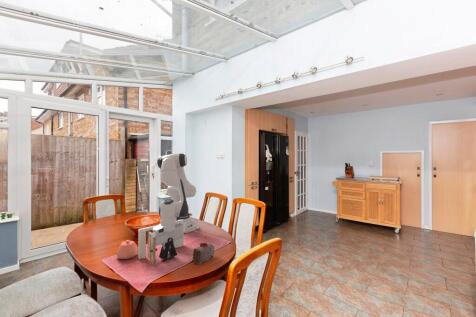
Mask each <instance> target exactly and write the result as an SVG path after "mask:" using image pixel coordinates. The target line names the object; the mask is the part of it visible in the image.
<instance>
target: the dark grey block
mask: <svg viewBox="0 0 476 317" xmlns="http://www.w3.org/2000/svg"><path fill="white" fill-rule="evenodd" d="M192 252H193V253H192V262H193V263H194V264H198V265H201V264H202V263H204V262H208V261H209V260H210V259H211V258H212V257H213V256H214V255H215V254H216V253H215V252H216V250H215V246H214V245H213V243H211V242H209V241H208V242H201V243H199V246H197V247H195V248H193V251H192Z"/></svg>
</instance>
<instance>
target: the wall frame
mask: <svg viewBox="0 0 476 317" xmlns="http://www.w3.org/2000/svg"><path fill="white" fill-rule="evenodd" d="M183 222H184V220H183V219H182V220H178V221H175V225H176V224H182V225H183V233H184V223H183ZM157 225H158V224H156V225H151V226H147V227H143V228H138V230H137V232H138V233H137V234H138V238H137V240H138V241H137V242H138V245H137V247H138V253H137V255H138V258H139V259H138V260H142V259H145V258H146V257H147V232H148V231H152V228H153V227H155V226H157ZM184 234H185V233H184ZM184 239H185V236H183V238H181V239H177V240H175V242H174V247H175V249H176V248H180V247H183V246H184V243H185V242H184V241H185V240H184ZM144 257H145V258H144ZM141 258H142V259H141Z"/></svg>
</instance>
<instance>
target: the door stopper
mask: <svg viewBox="0 0 476 317" xmlns="http://www.w3.org/2000/svg"><path fill="white" fill-rule="evenodd" d="M170 238H171V237H170ZM170 238H168V240H167V241H168V242H167V243H165V245H164V246H165V250H164V249H163V246H162V245H161V249H160V251H159V256H158V258H159V259H161V260H163V261H167V260H169V259H171V258H174V257H177V256H178V253H177V250H176V248H175V247H174V244H173V238H171V239H172V240H171V242H169V240H170ZM170 246H171V248H169V247H170Z"/></svg>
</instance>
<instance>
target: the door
mask: <svg viewBox="0 0 476 317" xmlns="http://www.w3.org/2000/svg"><path fill="white" fill-rule="evenodd" d="M152 233H153V232H152V231H151V230H149V231H147V257H148V259H149V260H150V263H151V264H152V266H155V265H156V252H157V251H158V248H156V246H155V238H154V237H152V239H153V245H152V244H151V235H152Z"/></svg>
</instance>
